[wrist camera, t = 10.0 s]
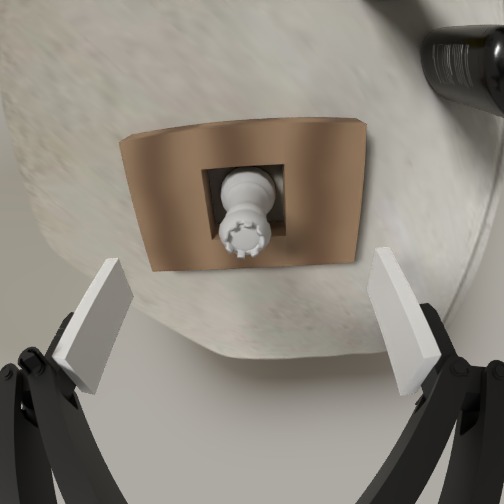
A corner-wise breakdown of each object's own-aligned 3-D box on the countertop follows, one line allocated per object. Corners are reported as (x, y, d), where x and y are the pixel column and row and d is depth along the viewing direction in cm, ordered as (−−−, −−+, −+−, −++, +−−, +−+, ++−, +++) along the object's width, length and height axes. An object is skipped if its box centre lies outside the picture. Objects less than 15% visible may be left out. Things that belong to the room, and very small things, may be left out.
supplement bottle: (462, 115, 19) (559, 161, 9) (406, 73, 18) (509, 93, 8) (485, 58, 16) (584, 81, 6) (432, 12, 14) (533, 3, 4)
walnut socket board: (356, 118, 21) (366, 124, 19) (347, 246, 27) (353, 262, 25) (131, 134, 22) (118, 142, 20) (159, 255, 28) (152, 271, 26)
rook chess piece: (234, 220, 26) (226, 279, 20) (212, 176, 24) (193, 224, 17) (283, 203, 25) (292, 258, 19) (263, 156, 23) (265, 196, 16)
